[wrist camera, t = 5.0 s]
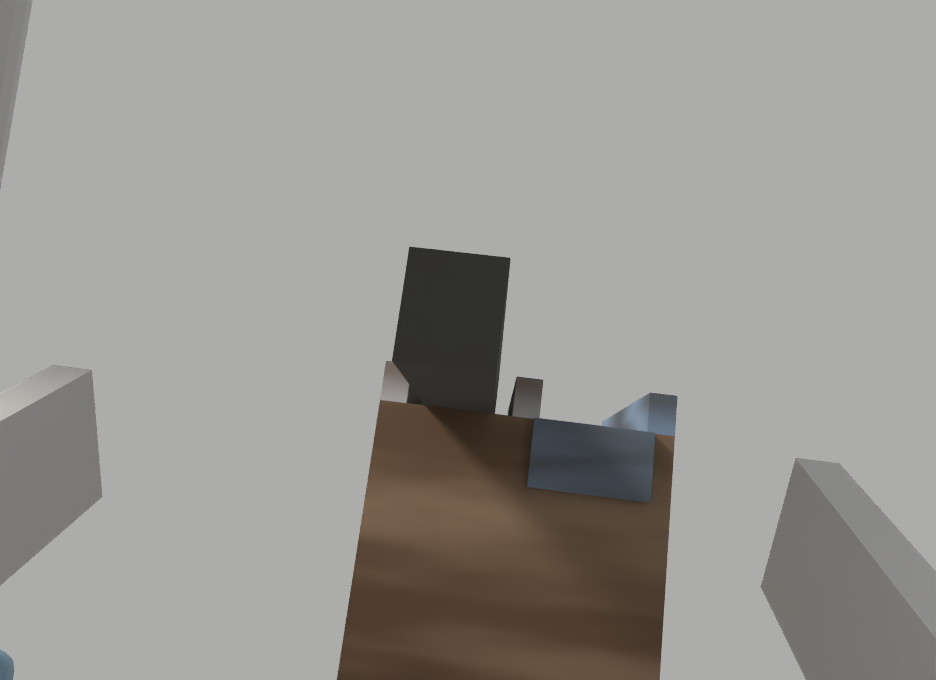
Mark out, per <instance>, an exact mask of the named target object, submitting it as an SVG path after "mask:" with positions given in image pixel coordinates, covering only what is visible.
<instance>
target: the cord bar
mask: <svg viewBox="0 0 936 680" xmlns="http://www.w3.org/2000/svg"><path fill="white" fill-rule="evenodd" d="M509 268H510V258H506V257H496V256H488V255H479V254H470V253H461V252H452V251H443V250H434V249H425V248H415V247H409V253H408V260H407V266H406V273H405V279H404V286H403V293H402V300H401V306H400V313H399V319H398V325H397V332H396V339H395V345H394V352H393V358H392V362H393V363H394V364H395V366H396V367H397V368H398V370H399V371H400V372H401V374H402V375H403V377H404V378H405V379H406V381H407V382H408V383H409V385H410V386H411V387H412V389H413V390H414V391H415V393H416V394H417V396H418V397H419V398H420V400H421V401H422V402H423V404H424V405H426V406H434V407H442V408H450V409H458V410H466V411H474V412H483V413H491V414H495V407H496V399H497V390H498V381H499V371H500V360H501V350H502V340H503V330H504V319H505V308H506V299H507V288H508V278H509Z"/></svg>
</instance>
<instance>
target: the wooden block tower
mask: <svg viewBox="0 0 936 680" xmlns="http://www.w3.org/2000/svg"><path fill="white" fill-rule="evenodd" d="M542 387H543V380H540V379H532V378H524V377H517V378H516V382H515V386H514V390H513V394H512V398H511V402H510V406H509V410H508V416H507V415H498V414H491V413H483V412H474V411H466V410H458V409H450V408H442V407H434V406H426V405H424V404H423V402H422V401H421V400H420V398H419V397H418V396H417V394H416V393H415V391H414V390H413V389H412V387H411V386H410V385H409V383H408V382H407V381H406V379H405V378H404V377H403V375H402V374H401V372H400V371H399V370H398V368H397V367H396V366H395V364H394V363H393V362H391V361H386V366H385V372H384V378H383V385H382V392H381V398H380V404H379V411H378V417H377V424H376V430H375V437H374V444H373V450H372V456H371V463H370V469H369V475H368V483H367V488H366V495H365V501H364V508H363V515H362V521H361V527H360V534H359V540H358V547H357V553H356V560H355V566H354V573H353V579H352V586H351V592H350V599H349V606H348V611H347V618H346V624H345V631H344V637H343V644H342V651H341V657H340V664H339V670H338V676H337V680H659V679H660V663H661V648H662V632H663V616H664V600H665V583H666V568H667V552H668V535H669V520H670V503H671V486H672V472H673V456H674V439H675V424H676V407H677V396H673V395H664V394H657V393H649V394H647V395H646V396H644V397H642V398H641V399H639V400H637V401H636V402H634V403H632V404H631V405H629V406H628V407H626V408H624V409H623V410H621V411H619V412H618V413H616V414H614V415H613V416H611V417H609V418H608V419H606V420H605V421H603V422H602V426H597V425H590V424H581V423H573V422H565V421H557V420H548V419H541V418H539V416H540V406H541V397H542V396H541V395H542Z"/></svg>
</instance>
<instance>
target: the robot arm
mask: <svg viewBox="0 0 936 680" xmlns="http://www.w3.org/2000/svg"><path fill="white" fill-rule="evenodd" d="M31 5H32V0H0V187H1V181H2V175H3V170H4V164H5V157H6V152H7V146H8V140H9V135H10V128H11V123H12V117H13V111H14V105H15V99H16V93H17V88H18V82H19V76H20V69H21V64H22V58H23V52H24V47H25V40H26V35H27V29H28V23H29V17H30V11H31ZM101 497H102V489H101V476H100V464H99V452H98V440H97V427H96V415H95V403H94V392H93V379H92V370H88V369H80V368H72V367H64V366H56V365H53V366H51V367H49V368H47V369H45V370H43V371H41V372H39V373H37V374H35V375H33V376H31V377H29V378H27V379H25V380H23V381H21V382H19V383H17V384H15V385H13V386H11V387H9V388H7V389H5V390H3V391H1V392H0V585H1V584H2V583H4V582H5V581H6V580H7V579H8V578H9V577H10V576H11V575H13V574H14V573H15V572H16V571H17V570H19V569H20V568H21V567H22V566H23V565H24V564H25V563H27V562H28V561H29V560H30V559H31V558H32V557H34V556H35V555H36V554H37V553H38V552H39V551H40V550H41V549H43V548H44V547H45V546H46V545H47V544H48V543H49V542H51V541H52V540H53V539H54V538H55V537H57V536H58V535H59V534H60V533H61V532H62V531H63V530H65V529H66V528H67V527H68V526H69V525H70V524H71V523H73V522H74V521H75V520H76V519H77V518H78V517H80V516H81V515H82V514H83V513H84V512H85V511H86V510H88V509H89V508H90V507H91V506H92V505H93V504H95V502H97V501H98V500H99V499H100V498H101ZM761 588H762V590H763V592H764V594H765V596H766V598H767V600H768V602H769V604H770V607H771V609H772V611H773V612H774V615H775V617H776V619H777V621H778V623H779V625H780V627H781V629H782V631H783V633H784V635H785V637H786V639H787V641H788V643H789V646H790V647H791V650H792V652H793V654H794V656H795V658H796V660H797V662H798V664H799V666H800V668H801V670H802V672H803V674H804V676H805V679H806V680H936V571H935V570H934V569H933V568H932V567H931V566H930V564H929V563H928V562H927V561H926V560H925V559H924V558H923V557H922V556H921V554H920V553H919V552H918V551H917V550H916V549H915V548H914V547H913V545H912V544H911V543H910V542H909V541H908V540H907V539H906V538H905V536H904V535H903V534H902V533H901V532H900V531H899V530H898V529H897V528H896V526H895V525H894V524H893V523H892V522H891V521H890V520H889V518H888V517H887V516H886V515H885V514H884V513H883V512H882V511H881V509H880V508H879V507H878V506H877V505H876V504H875V503H874V502H873V501H872V499H871V498H870V497H869V496H868V495H867V494H866V493H865V492H864V490H863V489H862V488H861V487H860V486H859V485H858V484H857V483H856V481H855V480H854V479H853V478H852V477H851V476H850V475H849V474H848V472H847V471H846V470H845V469H844V468H843V467H842V466H841V465H840V464H839V463H830V462H823V461H814V460H807V459H799V458H796V459H795V463H794V466H793V470H792V474H791V477H790V481H789V485H788V489H787V492H786V496H785V500H784V504H783V507H782V511H781V515H780V518H779V522H778V525H777V529H776V533H775V537H774V540H773V544H772V548H771V551H770V555H769V559H768V563H767V566H766V570H765V573H764V577H763V581H762V585H761ZM13 675H14V665H13V661H12V659H11V657H10V656H9V655H7V654H6V653H5V652H3V651H1V650H0V680H13Z"/></svg>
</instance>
